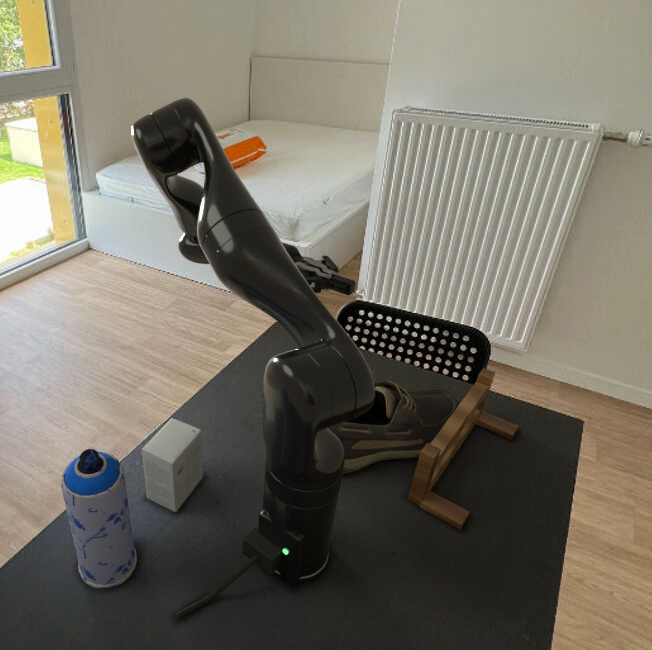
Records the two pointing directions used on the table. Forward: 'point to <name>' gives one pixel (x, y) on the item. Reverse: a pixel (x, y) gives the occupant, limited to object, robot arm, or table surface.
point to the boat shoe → (394, 425)
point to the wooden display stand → (454, 450)
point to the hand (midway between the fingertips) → (352, 288)
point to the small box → (173, 464)
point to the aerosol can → (99, 518)
